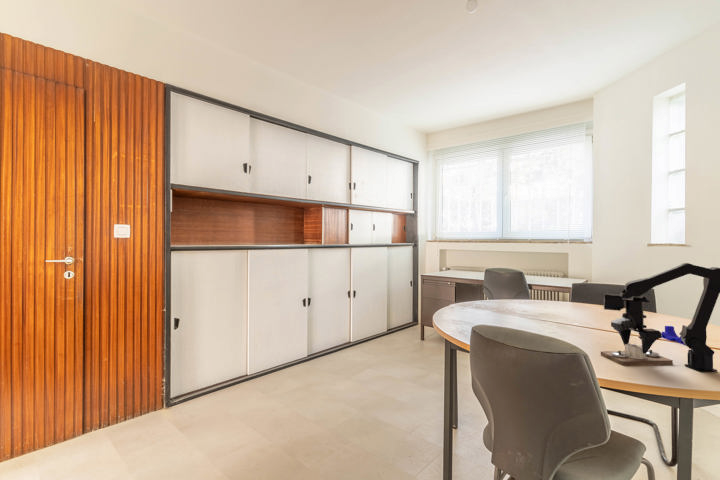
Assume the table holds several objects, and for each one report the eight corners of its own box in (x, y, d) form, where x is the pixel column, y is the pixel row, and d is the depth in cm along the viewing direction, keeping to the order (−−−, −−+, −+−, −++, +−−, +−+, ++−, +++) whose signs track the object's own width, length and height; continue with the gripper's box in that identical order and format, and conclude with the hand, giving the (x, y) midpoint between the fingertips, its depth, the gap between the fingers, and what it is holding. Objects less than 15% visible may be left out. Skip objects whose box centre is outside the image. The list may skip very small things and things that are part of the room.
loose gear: (649, 358, 135) (649, 347, 135) (633, 358, 135) (633, 348, 135) (636, 352, 142) (635, 342, 142) (621, 353, 142) (621, 343, 142)
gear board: (672, 364, 133) (672, 360, 133) (622, 365, 132) (622, 361, 132) (646, 353, 145) (646, 350, 145) (600, 354, 144) (600, 351, 144)
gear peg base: (662, 357, 136) (662, 352, 136) (618, 358, 136) (618, 353, 136) (651, 353, 141) (651, 347, 141) (608, 354, 141) (608, 348, 141)
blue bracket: (661, 337, 168) (661, 325, 168) (671, 337, 167) (671, 325, 167) (680, 345, 156) (680, 332, 156) (691, 345, 155) (691, 332, 155)
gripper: (598, 307, 148) (599, 343, 148) (634, 317, 129) (634, 357, 129) (623, 307, 148) (624, 342, 148) (662, 317, 129) (663, 357, 129)
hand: (635, 349), depth 138 cm, fingers open, 9 cm apart
